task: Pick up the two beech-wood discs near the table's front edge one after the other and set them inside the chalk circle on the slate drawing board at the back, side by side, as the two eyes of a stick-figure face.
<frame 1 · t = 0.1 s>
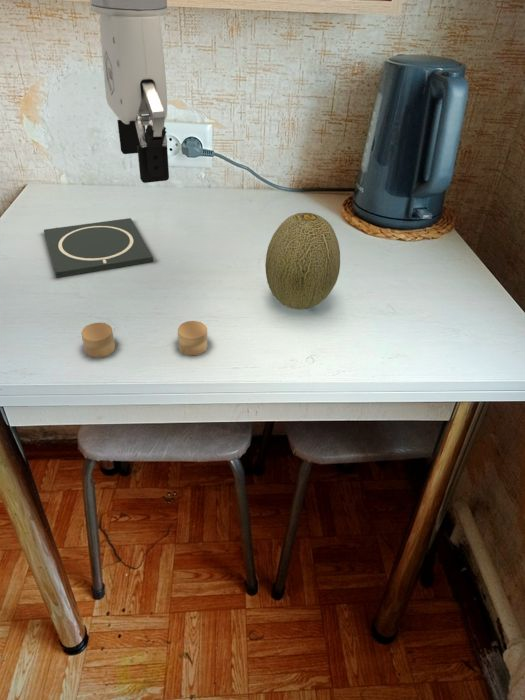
hand: (144, 165, 62), 23 cm above the table, tool pointing down, fingers open, 9 cm apart
left eye: (100, 348, 70), on the table
slate board: (97, 247, 91), on the table
right eye: (193, 346, 71), on the table
fruit: (297, 304, 81), on the table
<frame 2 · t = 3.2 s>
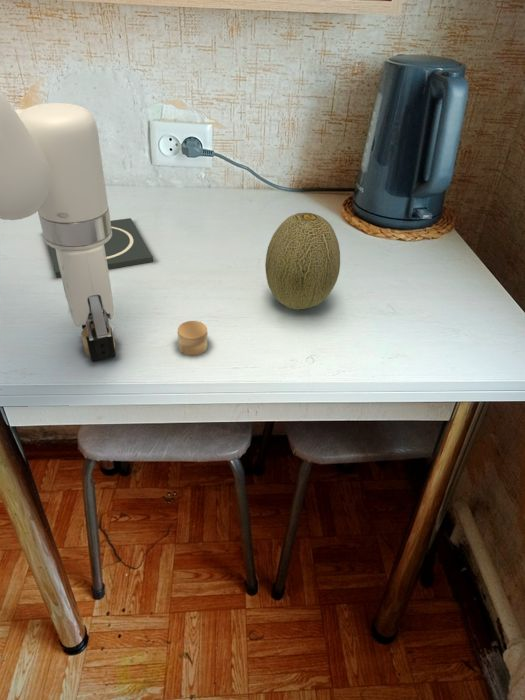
hand: (99, 346, 70), 0 cm above the table, tool pointing down, fingers closed on left eye, 4 cm apart
left eye: (100, 348, 70), on the table, touching gripper
everything else where it was.
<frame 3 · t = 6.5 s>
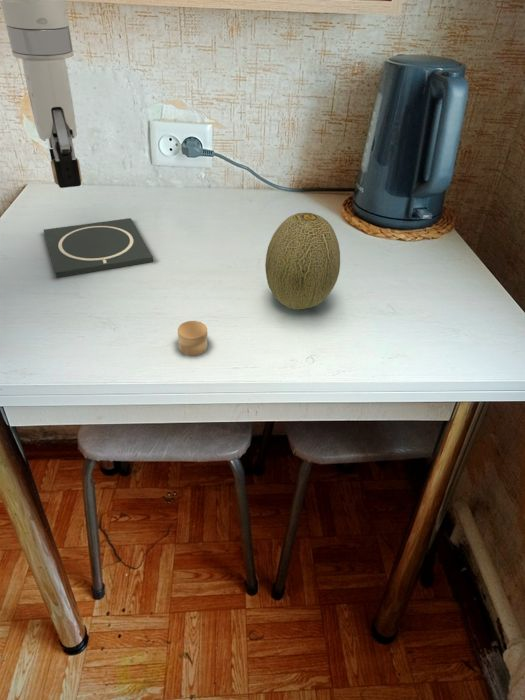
hand: (67, 179, 77), 15 cm above the table, tool pointing down, fingers closed on left eye, 4 cm apart
left eye: (68, 181, 78), point 14 cm above the table, touching gripper
everything else where it was.
when the fingers open (1 cm above the table, at t = 10.0 s): left eye stays where it is, resting on slate board.
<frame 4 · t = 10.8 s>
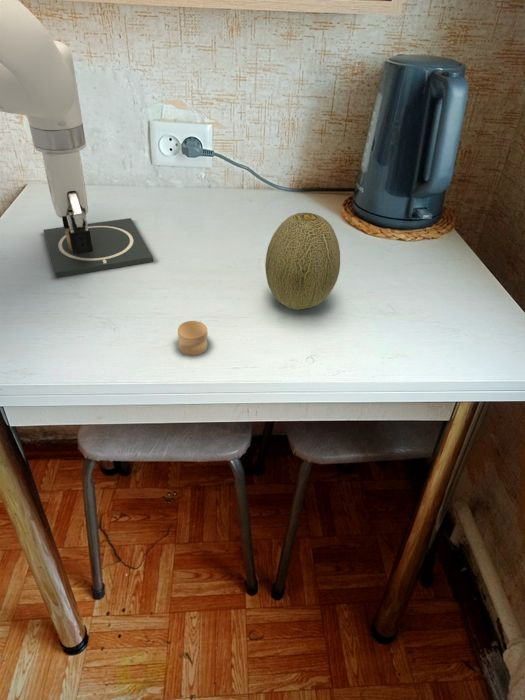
hand: (78, 239, 88), 3 cm above the table, tool pointing down, fingers open, 9 cm apart
left eye: (80, 246, 89), point 1 cm above the table, touching slate board
everything else where it was.
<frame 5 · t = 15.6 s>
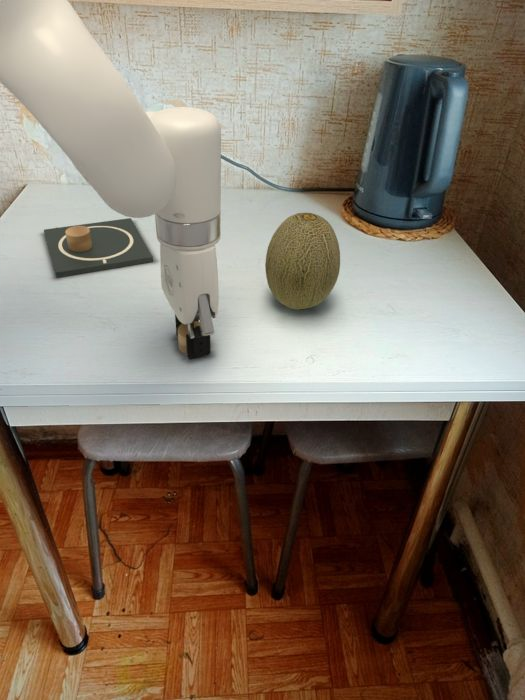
hand: (193, 344, 71), 0 cm above the table, tool pointing down, fingers closed on right eye, 4 cm apart
right eye: (193, 346, 71), on the table, touching gripper
everything else where it was.
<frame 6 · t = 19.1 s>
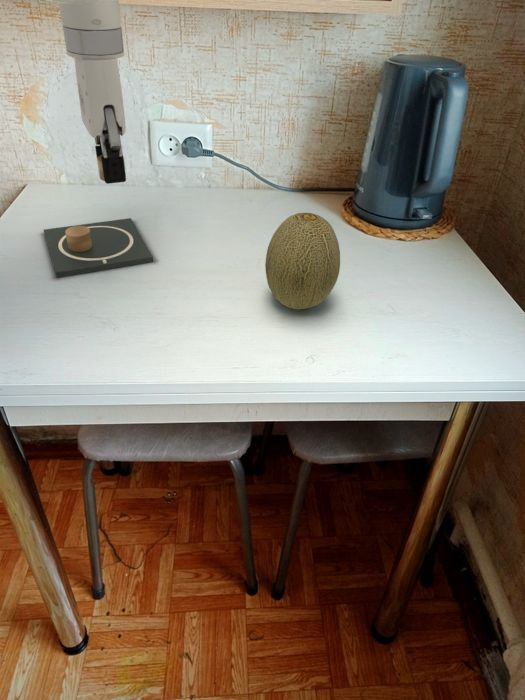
hand: (112, 175, 80), 14 cm above the table, tool pointing down, fingers closed on right eye, 4 cm apart
right eye: (112, 177, 80), point 14 cm above the table, touching gripper
everything else where it was.
when the fingers open (1 cm above the table, at t = 22.6 s): right eye stays where it is, resting on slate board.
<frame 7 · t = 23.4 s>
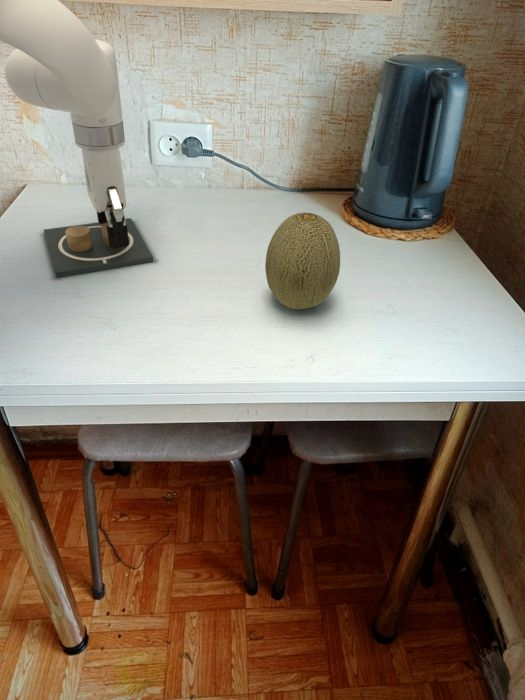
hand: (113, 234, 90), 3 cm above the table, tool pointing down, fingers open, 9 cm apart
right eye: (115, 241, 91), point 1 cm above the table, touching slate board
everything else where it was.
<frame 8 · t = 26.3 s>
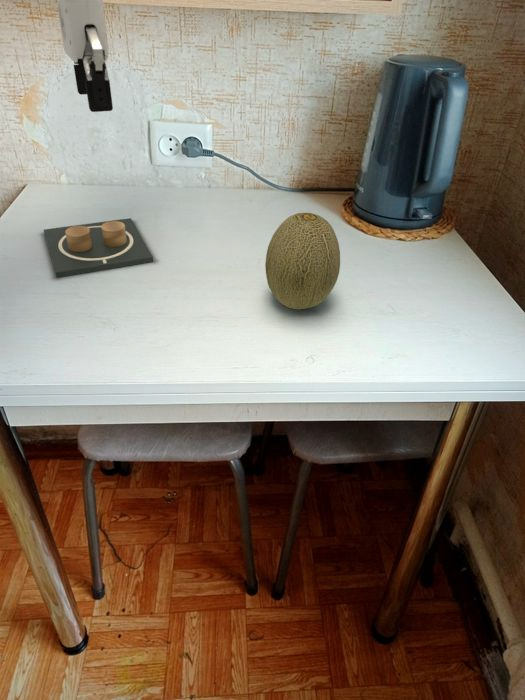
hand: (94, 101, 76), 24 cm above the table, tool pointing down, fingers open, 9 cm apart
nothing on the table moved.
at the end: left eye 0.1 cm from the target spot on the slate board, point 1.2 cm above the slate board's base; right eye 0.1 cm from the target spot on the slate board, point 1.2 cm above the slate board's base; right eye tilted 0° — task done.
